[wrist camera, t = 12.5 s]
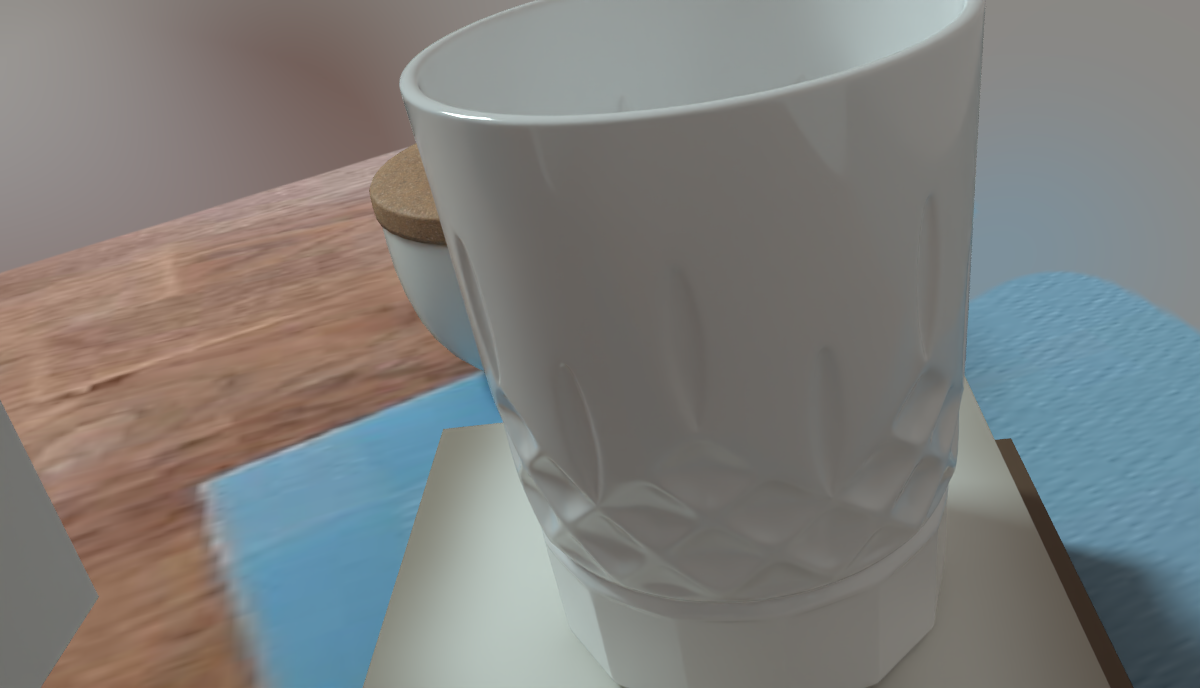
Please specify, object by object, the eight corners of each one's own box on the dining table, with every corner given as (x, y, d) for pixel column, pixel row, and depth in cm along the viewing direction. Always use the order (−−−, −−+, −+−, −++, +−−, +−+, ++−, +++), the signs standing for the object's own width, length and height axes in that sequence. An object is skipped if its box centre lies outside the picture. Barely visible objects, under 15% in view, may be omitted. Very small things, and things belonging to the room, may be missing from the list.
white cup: (1060, 706, 16) (1103, 35, 11) (539, 795, 16) (366, 166, 12) (896, 423, 23) (879, -69, 18) (530, 487, 23) (419, 13, 19)
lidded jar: (730, 282, 44) (704, 49, 39) (661, 435, 35) (617, 158, 31) (487, 283, 47) (438, 69, 43) (371, 421, 39) (293, 172, 34)
